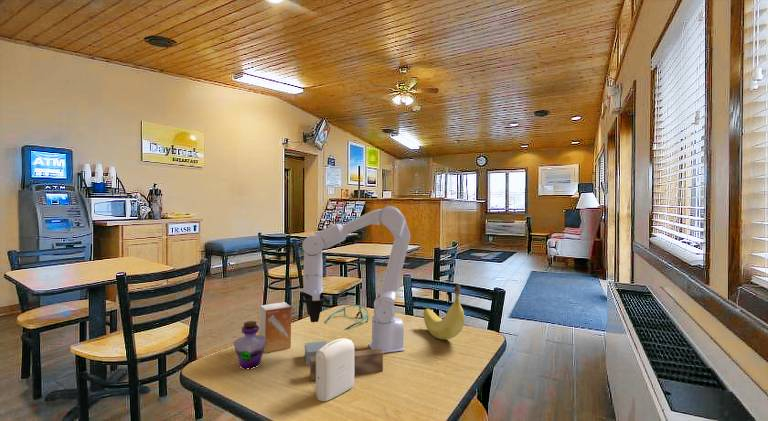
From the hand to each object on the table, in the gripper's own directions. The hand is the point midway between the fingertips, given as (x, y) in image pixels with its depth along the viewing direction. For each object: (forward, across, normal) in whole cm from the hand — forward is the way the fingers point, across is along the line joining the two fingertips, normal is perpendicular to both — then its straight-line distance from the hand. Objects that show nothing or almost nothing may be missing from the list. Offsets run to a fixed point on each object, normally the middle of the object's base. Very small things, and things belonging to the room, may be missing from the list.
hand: (312, 318), depth 116 cm
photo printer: (+10, +28, +2) cm, 30 cm away
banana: (+10, +3, +42) cm, 43 cm away
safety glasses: (+10, -22, +16) cm, 29 cm away
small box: (+10, -4, -11) cm, 15 cm away
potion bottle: (+10, +7, -18) cm, 22 cm away
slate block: (+10, +8, 0) cm, 13 cm away
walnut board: (+9, +20, +6) cm, 23 cm away
